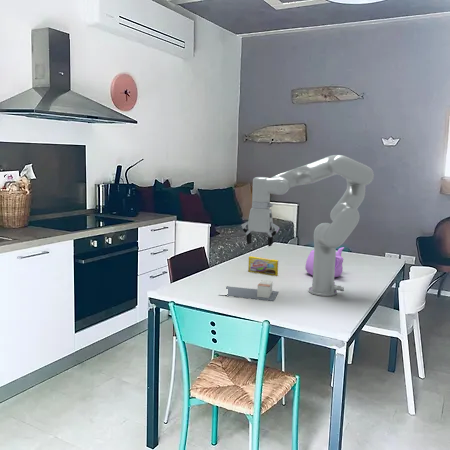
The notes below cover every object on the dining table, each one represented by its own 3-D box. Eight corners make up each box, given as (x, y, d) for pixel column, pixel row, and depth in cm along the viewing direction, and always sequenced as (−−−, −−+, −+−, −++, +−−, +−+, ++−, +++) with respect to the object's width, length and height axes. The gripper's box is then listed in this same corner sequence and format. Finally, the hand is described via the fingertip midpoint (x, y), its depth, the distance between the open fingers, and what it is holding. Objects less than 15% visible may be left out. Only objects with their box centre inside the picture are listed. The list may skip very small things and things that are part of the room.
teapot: (329, 283, 226) (331, 253, 224) (300, 273, 243) (301, 245, 241) (360, 277, 238) (363, 249, 236) (330, 269, 256) (332, 242, 253)
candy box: (247, 272, 244) (248, 256, 243) (249, 271, 246) (250, 255, 245) (276, 276, 236) (277, 260, 235) (278, 275, 238) (278, 259, 237)
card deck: (272, 292, 205) (272, 281, 205) (268, 298, 197) (269, 286, 196) (260, 291, 207) (261, 280, 206) (257, 296, 198) (257, 285, 197)
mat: (278, 292, 207) (278, 291, 207) (273, 301, 194) (273, 300, 194) (226, 287, 213) (226, 286, 213) (218, 295, 200) (218, 294, 200)
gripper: (282, 206, 199) (281, 245, 202) (245, 203, 207) (244, 241, 209) (276, 207, 193) (275, 248, 195) (238, 205, 200) (237, 244, 202)
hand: (259, 244), depth 202 cm, fingers open, 9 cm apart
